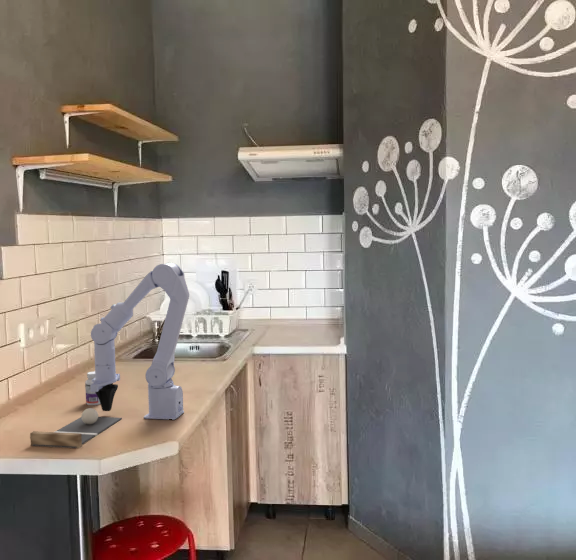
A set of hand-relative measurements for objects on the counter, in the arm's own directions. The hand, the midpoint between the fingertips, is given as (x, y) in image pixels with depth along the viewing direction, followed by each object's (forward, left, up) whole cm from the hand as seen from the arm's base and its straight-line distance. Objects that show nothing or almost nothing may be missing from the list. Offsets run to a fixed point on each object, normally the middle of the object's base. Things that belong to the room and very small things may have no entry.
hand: (106, 410), depth 187 cm
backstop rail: (0, +27, -1) cm, 27 cm away
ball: (0, +10, -1) cm, 10 cm away
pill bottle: (+10, -12, -2) cm, 16 cm away
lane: (0, +15, -1) cm, 16 cm away
